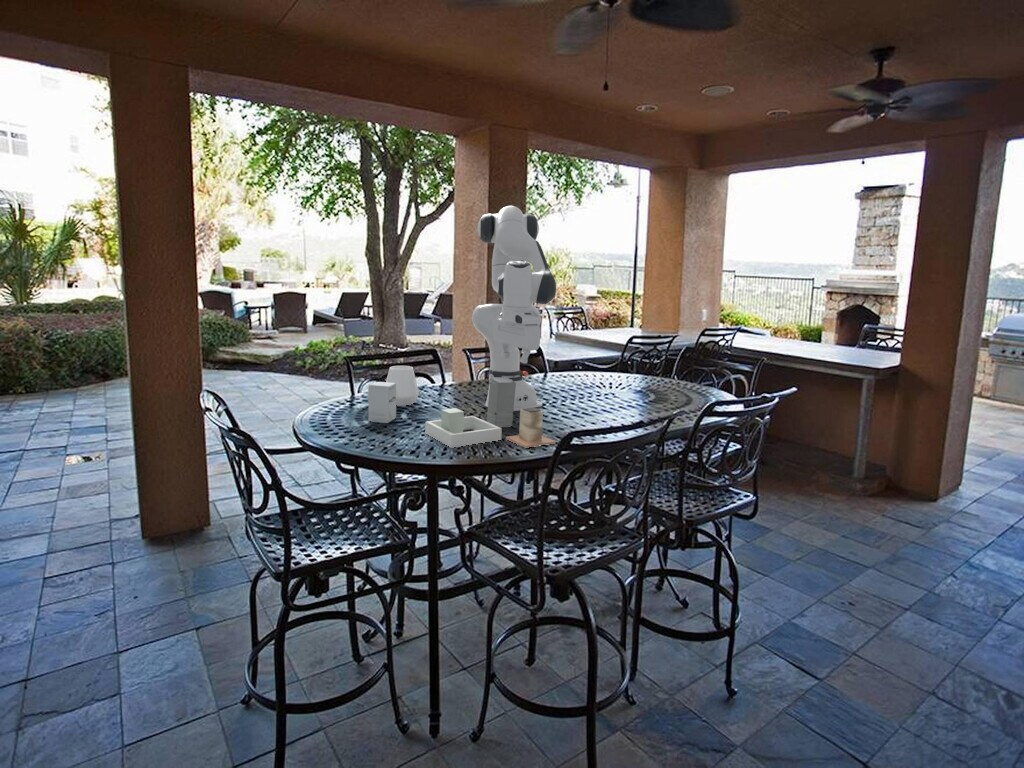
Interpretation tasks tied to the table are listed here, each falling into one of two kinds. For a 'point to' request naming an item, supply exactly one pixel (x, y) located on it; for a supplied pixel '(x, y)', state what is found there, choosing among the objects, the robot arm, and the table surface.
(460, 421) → the plain block
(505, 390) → the skincare box
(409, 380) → the cup
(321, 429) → the table surface
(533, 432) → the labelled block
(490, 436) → the bin
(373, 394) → the supplement box
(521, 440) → the tile
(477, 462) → the table surface
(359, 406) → the table surface
